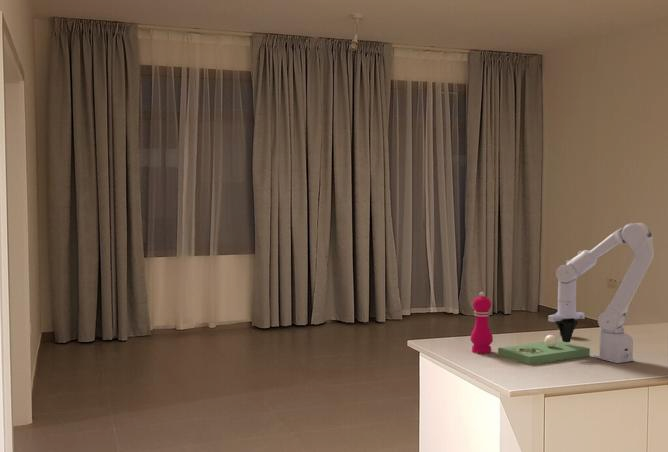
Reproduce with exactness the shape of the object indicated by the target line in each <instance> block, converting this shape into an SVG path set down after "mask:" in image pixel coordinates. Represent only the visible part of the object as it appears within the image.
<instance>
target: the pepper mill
mask: <svg viewBox="0 0 668 452" xmlns="http://www.w3.org/2000/svg"><path fill="white" fill-rule="evenodd" d="M478 294H479V296H477V297H475V298H474V299H473V301H472V307H473V309H474V311H473V312H474V314H473V315H474V316H475V325H474V328H473V330H472V332H471V334H470V341H471V343H472V344H473V345H472V346H471V351H472V352H473V353H475V354H485V353H487V354H491V353H492V346H491V344H492V343H493V340H494V338H493V333H492V331H491V329H490V327H489V316H490V311H489V310H490V309H491V308H492V301H491V299H489V298H488V297H486V295H485V294H486V293H485V292H484V291H480V292H479V293H478ZM485 355H486V354H485Z"/></svg>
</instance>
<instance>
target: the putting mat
mask: <svg viewBox="0 0 668 452" xmlns="http://www.w3.org/2000/svg"><path fill="white" fill-rule="evenodd" d="M498 355H499V356H498ZM590 355H591V351H590V347H586V346H583V345H577V344H575V343H570V342H563V341H562V340H558V339H557V344H556V346H554V347H548V346H547V345H546V344H545V342H544V341H543V342H542V341H541V342H534V343H525V344H518V345H510V346H503V347H498V348H497V356H498V357H501V356H502V358H505V359H509V360H512V361H516V362H518V363H521V364H525V365H528V366H530V365H531V366H532V365H538V364H544V362H546V363H551V361H553V362H557V361H556V360H559V361H564V359H566V360H571V359H577V358H578V359H579V358H584V357H590Z"/></svg>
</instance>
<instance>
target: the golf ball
mask: <svg viewBox="0 0 668 452" xmlns="http://www.w3.org/2000/svg"><path fill="white" fill-rule="evenodd" d="M557 340H558V339H557V337H556V336H555V335H553V334H548V335H546V336H545V337H544V341H543V342H545V344H546V345H547V346H548V347H554V346H556V344H557Z"/></svg>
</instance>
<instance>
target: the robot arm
mask: <svg viewBox="0 0 668 452" xmlns="http://www.w3.org/2000/svg"><path fill="white" fill-rule="evenodd" d="M653 238H654V234H653V232H652V231H651V229H650V227H649V226H648V225H647V224H646V223H644V222H635V223H634V222H631V223H627V224H625V225H624V227H621V228H618V229H617V230H615V231H614V232H612V233H611V234H610V235H608V236H607V237H605V239H604V240H602V241H601V242H599V243H598V244H597V245H596V246H594V247H593V248H592V249H590V250H587V249H584V250H579V251H578V252H577V255H576V256H574V257H573V258H571V259H567V260H566V261H565V263H566V264H561V265H559V266H558V267H557V268H556V271H555V276H556V279H557V280H558V282H557V283H558V284H557V285H558V286H557V310H558V312H557V313H556V314H551V315H550V314H549V315H548V317H547V318H548V319H547V321H548V322H550V323H555V324H556V326H557V329H558V328H559V330H560V333H561V335H560V336H561V339H562V340H561V341H562V342H566V343H570V342H571V339H572V337H573V334H574V330H575V329H576V326H577V325H578V322H579V321H578V320H579V319H580V320H583V319H584V320H585V314H586V313H585V312H583V311H577V280H578V279H579V276H582V275H583V274H584V273H586V272H587V271H589V270H590V269H592V268H593V267H594V266H595V265H596V264H597V261H598V258H600V257H601V256H603V255H605V253H607V252H609V251H610V250H612V249H613V248H615V247H617V246H618V245H621V244H622V245H623V244H627V245H628V246H629V247H630V248H631V251H632V253H633V255H634V257H633V259H632V261H631V263H630V266H629V267H628V269H627V271H626V273H625V274H624V277H623V279H622V281H621V283H620V285H619V287H618V289H617V291H616V292H615V294H614V296H613V298H612V300H611V301H610V303H609V304H608V305H607V307H606V308H605V310H604V311H603V312H601V313H600V314H599V315H598V318H597V324H598V326H599V347H598V348H599V349H598V350H599V352H598V353H599V354H596V355H593V356H592V358H596V359H598V360H604V361H607V362H610V363H614V364H621V363H627V362H633V361H635V358H634V357H633V354H634V353H633V352H634V348H633V347H634V342H633V337H632V336H631V335H630V334H627V333H626V332H625V328H624V327H623V326H624V325H625V324H626V322H627V313H628V311H629V306H630V304H631V302H632V300H633V299H634V296H635V294H636V292H637V290H638V288H639V287H640V285H641V283H642V282H643V279H644V277H645V275H646V273H647V271H648V269H649V267H650V265H651V263H652V262H653V259H654V257H655V251H654V249H655V248H654V241H653V240H654V239H653ZM559 330H558V331H559Z"/></svg>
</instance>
